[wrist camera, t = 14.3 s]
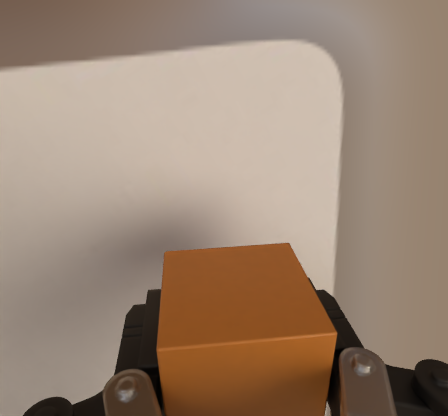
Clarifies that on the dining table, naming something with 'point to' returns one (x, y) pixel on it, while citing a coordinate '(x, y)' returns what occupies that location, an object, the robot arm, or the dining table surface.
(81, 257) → the dining table surface
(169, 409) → the block
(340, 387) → the robot arm
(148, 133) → the dining table surface
